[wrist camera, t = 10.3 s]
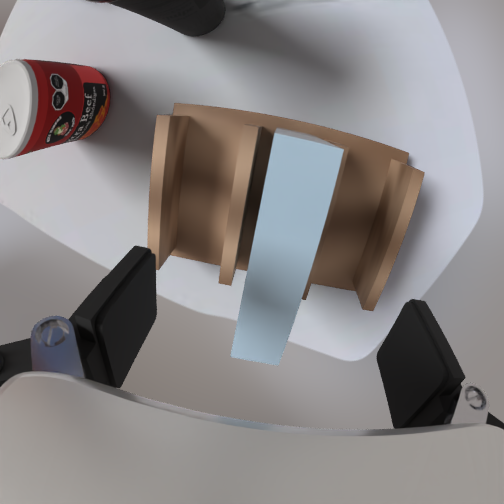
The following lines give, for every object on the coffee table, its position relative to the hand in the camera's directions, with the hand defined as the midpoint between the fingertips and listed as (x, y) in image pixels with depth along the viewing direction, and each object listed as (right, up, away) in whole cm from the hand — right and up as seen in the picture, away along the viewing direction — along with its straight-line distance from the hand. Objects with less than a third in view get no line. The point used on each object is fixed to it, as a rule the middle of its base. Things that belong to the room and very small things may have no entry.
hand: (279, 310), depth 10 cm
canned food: (-18, +17, +13) cm, 28 cm away
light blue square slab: (+1, +6, +14) cm, 15 cm away
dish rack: (+1, +7, +15) cm, 17 cm away
